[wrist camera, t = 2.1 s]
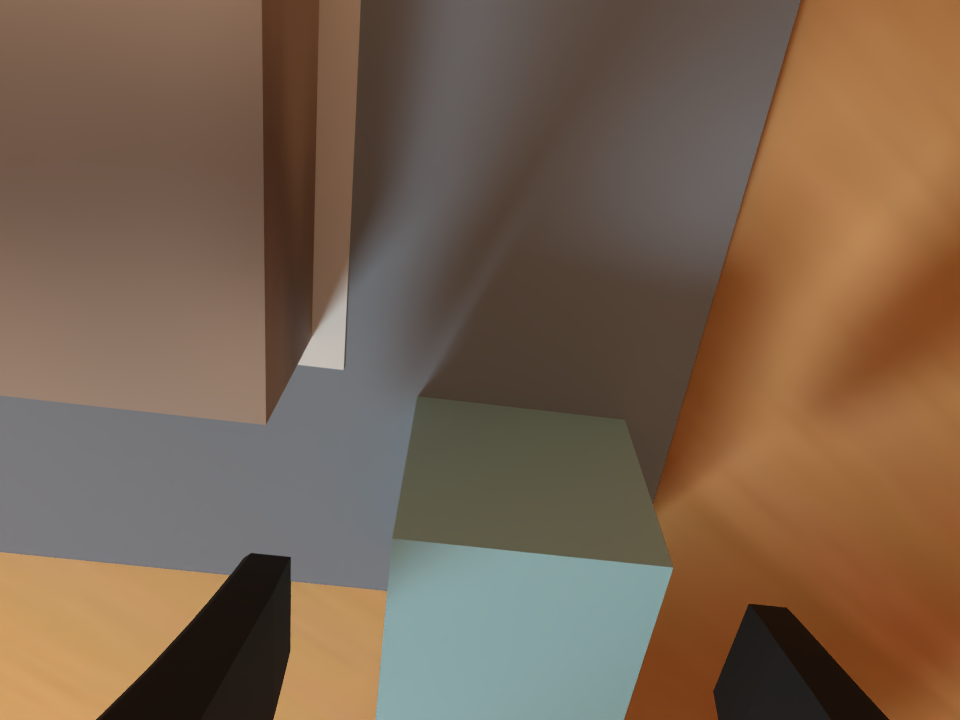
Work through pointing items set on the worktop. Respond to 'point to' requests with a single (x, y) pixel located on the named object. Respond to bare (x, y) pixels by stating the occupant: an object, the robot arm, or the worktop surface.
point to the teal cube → (519, 568)
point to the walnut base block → (157, 202)
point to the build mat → (444, 276)
